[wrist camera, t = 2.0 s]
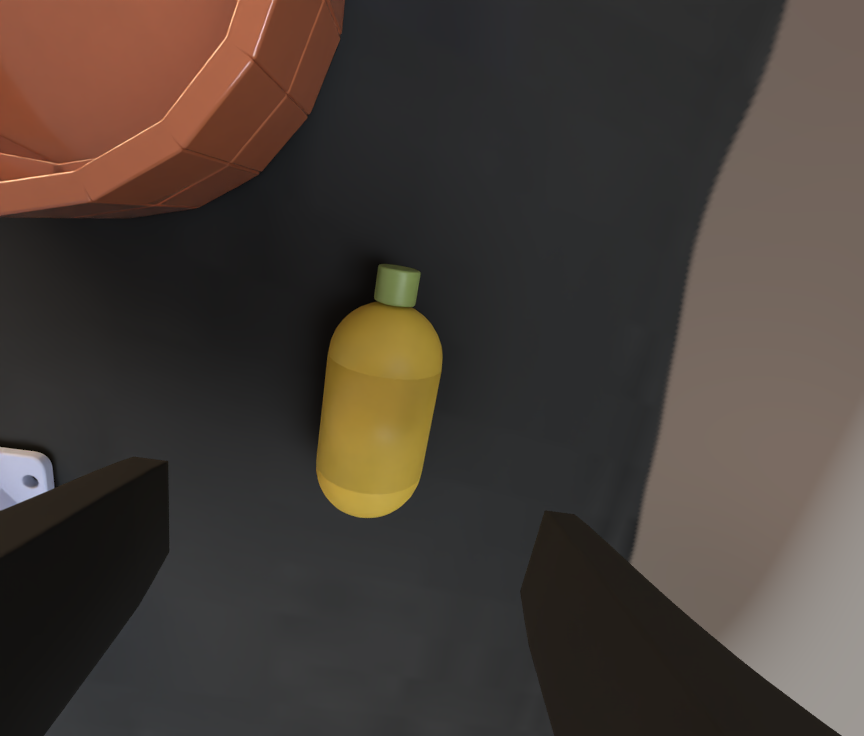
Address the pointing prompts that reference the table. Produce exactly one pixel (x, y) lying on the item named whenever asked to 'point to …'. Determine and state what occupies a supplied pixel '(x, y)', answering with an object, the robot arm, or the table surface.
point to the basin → (151, 99)
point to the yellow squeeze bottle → (378, 399)
